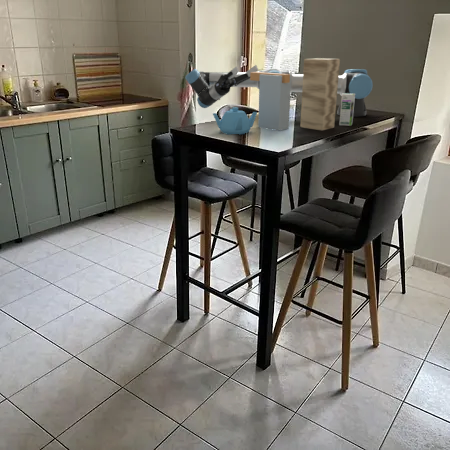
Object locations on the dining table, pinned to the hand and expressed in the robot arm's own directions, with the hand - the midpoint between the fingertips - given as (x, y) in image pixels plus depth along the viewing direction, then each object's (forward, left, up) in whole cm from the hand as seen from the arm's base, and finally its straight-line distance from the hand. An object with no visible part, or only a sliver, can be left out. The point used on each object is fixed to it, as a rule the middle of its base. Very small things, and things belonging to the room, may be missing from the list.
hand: (247, 68), depth 216 cm
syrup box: (-44, +18, -26) cm, 54 cm away
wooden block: (-28, +20, -25) cm, 43 cm away
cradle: (-8, +15, -25) cm, 31 cm away
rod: (-6, +12, -5) cm, 15 cm away
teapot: (+12, +20, -26) cm, 35 cm away
